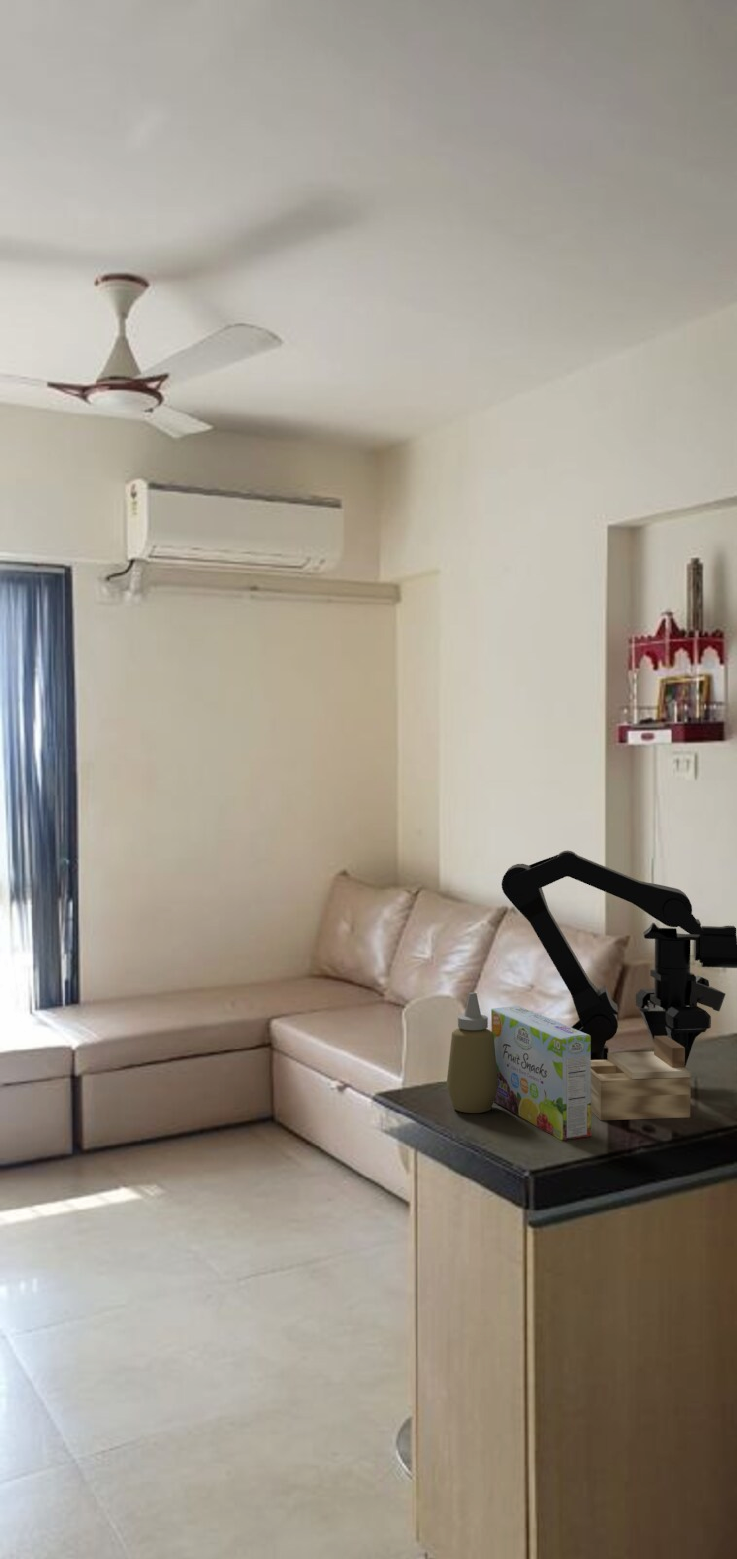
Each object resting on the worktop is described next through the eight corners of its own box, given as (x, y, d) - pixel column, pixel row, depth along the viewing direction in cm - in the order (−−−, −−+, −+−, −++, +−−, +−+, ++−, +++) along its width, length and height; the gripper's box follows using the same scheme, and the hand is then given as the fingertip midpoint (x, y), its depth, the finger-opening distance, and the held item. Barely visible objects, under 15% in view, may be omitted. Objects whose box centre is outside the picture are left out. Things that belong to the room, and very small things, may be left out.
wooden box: (662, 1094, 203) (662, 1057, 203) (690, 1117, 191) (690, 1077, 191) (577, 1097, 201) (578, 1060, 201) (600, 1120, 189) (601, 1080, 189)
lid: (662, 1057, 203) (663, 1032, 202) (690, 1077, 191) (691, 1051, 191) (607, 1058, 202) (607, 1034, 201) (632, 1079, 190) (632, 1052, 189)
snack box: (488, 1102, 199) (489, 1007, 198) (519, 1098, 201) (520, 1004, 200) (560, 1142, 179) (561, 1037, 179) (593, 1137, 181) (594, 1033, 181)
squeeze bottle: (452, 1117, 190) (453, 999, 190) (441, 1102, 198) (441, 988, 198) (504, 1115, 192) (505, 997, 191) (491, 1100, 200) (491, 987, 199)
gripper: (743, 975, 198) (741, 1073, 199) (697, 955, 217) (696, 1045, 217) (675, 977, 197) (673, 1076, 197) (635, 956, 215) (634, 1046, 216)
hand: (671, 1060), depth 207 cm, fingers open, 9 cm apart
